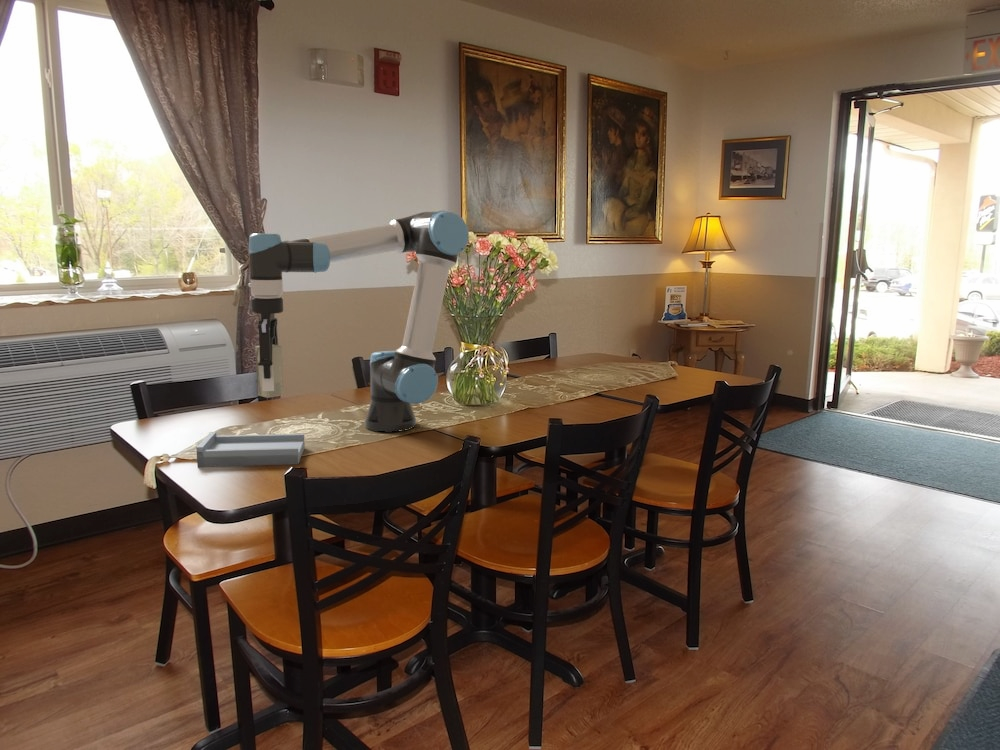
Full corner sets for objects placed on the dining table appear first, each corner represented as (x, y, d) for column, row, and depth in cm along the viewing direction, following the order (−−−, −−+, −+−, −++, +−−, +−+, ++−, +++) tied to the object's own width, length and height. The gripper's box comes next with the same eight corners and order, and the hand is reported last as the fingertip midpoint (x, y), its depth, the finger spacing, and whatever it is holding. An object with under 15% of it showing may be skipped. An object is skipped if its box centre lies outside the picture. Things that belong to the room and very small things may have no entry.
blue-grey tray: (304, 448, 193) (304, 430, 192) (298, 464, 179) (297, 444, 178) (211, 450, 189) (210, 432, 188) (197, 467, 175) (196, 447, 174)
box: (274, 393, 185) (272, 343, 183) (284, 395, 182) (282, 345, 180) (256, 396, 181) (254, 345, 179) (266, 398, 178) (264, 347, 176)
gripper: (258, 293, 186) (261, 380, 190) (243, 300, 167) (248, 396, 171) (287, 293, 187) (290, 380, 191) (276, 300, 168) (280, 396, 173)
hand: (270, 387), depth 181 cm, fingers closed on box, 6 cm apart
